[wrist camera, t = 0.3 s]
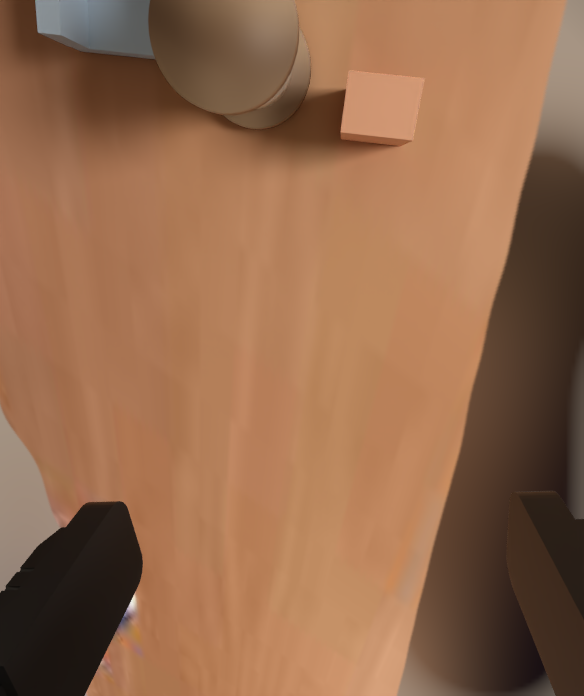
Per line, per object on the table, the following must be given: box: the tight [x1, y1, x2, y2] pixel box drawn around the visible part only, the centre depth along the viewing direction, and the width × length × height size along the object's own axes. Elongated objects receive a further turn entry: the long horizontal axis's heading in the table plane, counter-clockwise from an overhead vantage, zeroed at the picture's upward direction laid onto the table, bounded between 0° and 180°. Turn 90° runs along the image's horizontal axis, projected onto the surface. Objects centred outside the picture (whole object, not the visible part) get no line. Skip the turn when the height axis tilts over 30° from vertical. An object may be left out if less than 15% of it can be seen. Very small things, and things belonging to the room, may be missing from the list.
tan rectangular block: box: [340, 70, 425, 146], centre depth 28 cm, size 3×4×6 cm
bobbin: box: [148, 0, 311, 129], centre depth 26 cm, size 7×7×10 cm
